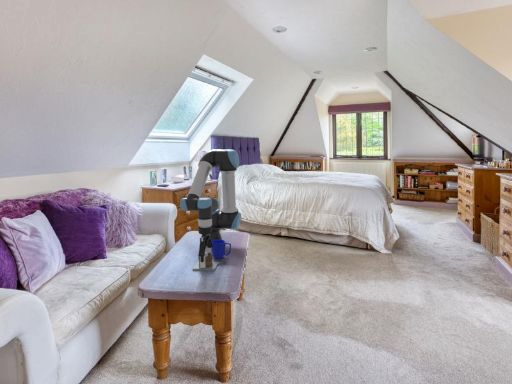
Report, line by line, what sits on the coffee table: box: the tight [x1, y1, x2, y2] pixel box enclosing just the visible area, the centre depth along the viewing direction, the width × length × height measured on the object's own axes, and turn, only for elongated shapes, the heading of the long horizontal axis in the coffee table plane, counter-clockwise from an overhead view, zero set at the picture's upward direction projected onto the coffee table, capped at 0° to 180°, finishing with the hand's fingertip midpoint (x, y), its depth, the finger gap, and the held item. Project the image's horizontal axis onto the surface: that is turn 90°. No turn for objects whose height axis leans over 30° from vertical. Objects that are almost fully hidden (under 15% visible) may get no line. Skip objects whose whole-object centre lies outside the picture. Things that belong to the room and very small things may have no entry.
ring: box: [198, 252, 213, 268], centre depth 182 cm, size 7×7×6 cm
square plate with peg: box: [192, 251, 220, 272], centre depth 182 cm, size 12×12×8 cm
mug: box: [211, 239, 232, 260], centre depth 197 cm, size 8×12×10 cm
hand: (206, 262), depth 183 cm, fingers open, 13 cm apart
